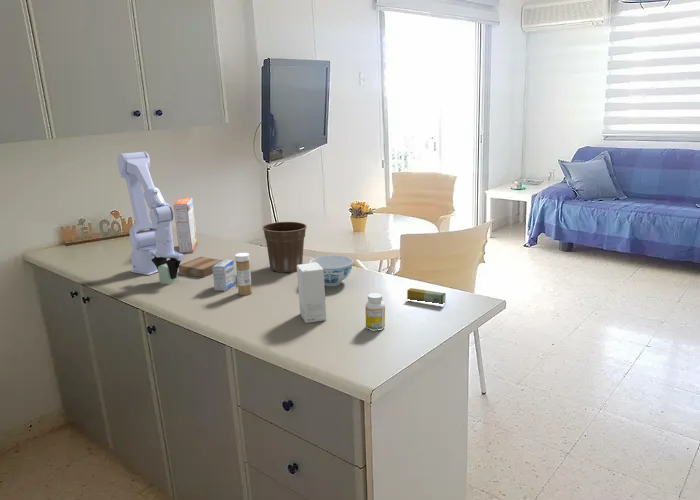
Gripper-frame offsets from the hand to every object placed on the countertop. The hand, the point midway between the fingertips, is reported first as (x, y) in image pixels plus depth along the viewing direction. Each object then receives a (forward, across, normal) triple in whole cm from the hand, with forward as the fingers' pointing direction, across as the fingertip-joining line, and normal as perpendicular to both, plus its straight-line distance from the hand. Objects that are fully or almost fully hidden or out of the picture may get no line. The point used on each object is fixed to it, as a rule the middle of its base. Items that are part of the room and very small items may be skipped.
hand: (168, 277), depth 199 cm
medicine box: (+2, +22, +4) cm, 22 cm away
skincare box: (+2, +63, -6) cm, 63 cm away
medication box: (+2, +89, +19) cm, 91 cm away
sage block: (+2, 0, 0) cm, 2 cm away
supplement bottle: (+2, +83, -5) cm, 83 cm away
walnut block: (+2, +2, +15) cm, 15 cm away
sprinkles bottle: (+2, +32, +2) cm, 32 cm away
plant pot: (+2, +29, +31) cm, 42 cm away
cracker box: (+2, -25, +36) cm, 44 cm away
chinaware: (+2, +53, +23) cm, 58 cm away
